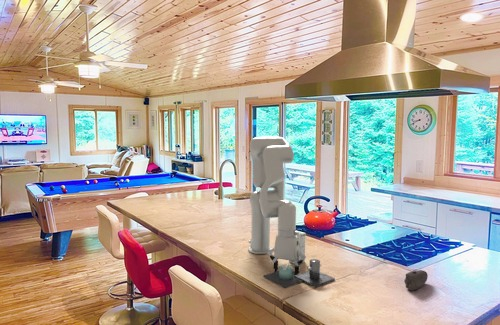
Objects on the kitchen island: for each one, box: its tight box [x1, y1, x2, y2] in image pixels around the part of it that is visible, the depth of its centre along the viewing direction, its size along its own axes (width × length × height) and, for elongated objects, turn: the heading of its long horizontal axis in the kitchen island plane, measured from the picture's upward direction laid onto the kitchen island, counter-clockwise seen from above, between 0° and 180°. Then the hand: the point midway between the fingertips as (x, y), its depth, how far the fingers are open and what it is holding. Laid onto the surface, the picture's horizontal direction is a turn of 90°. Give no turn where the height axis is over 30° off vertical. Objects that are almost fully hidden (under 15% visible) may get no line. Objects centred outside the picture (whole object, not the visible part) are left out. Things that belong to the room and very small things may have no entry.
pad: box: [262, 270, 304, 289], centre depth 160 cm, size 14×14×1 cm
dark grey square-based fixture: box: [294, 258, 336, 288], centre depth 158 cm, size 12×12×8 cm
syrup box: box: [288, 230, 306, 265], centre depth 178 cm, size 6×6×14 cm
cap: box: [278, 263, 294, 280], centre depth 159 cm, size 6×6×5 cm
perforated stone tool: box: [403, 269, 428, 292], centre depth 151 cm, size 15×5×7 cm, turn 126°
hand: (286, 272), depth 159 cm, fingers open, 8 cm apart
